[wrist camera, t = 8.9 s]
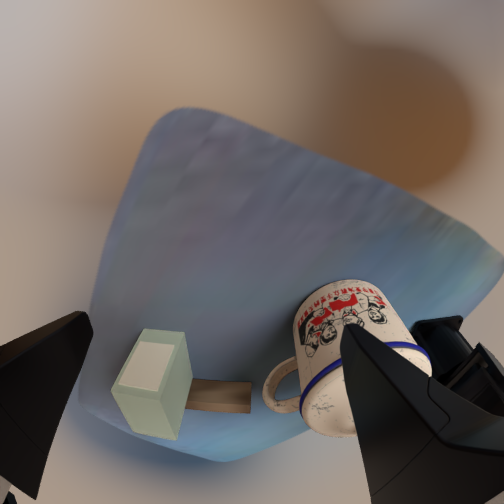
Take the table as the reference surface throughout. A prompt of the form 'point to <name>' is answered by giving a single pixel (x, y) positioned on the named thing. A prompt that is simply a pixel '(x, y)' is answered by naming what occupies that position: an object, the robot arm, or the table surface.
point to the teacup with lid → (336, 352)
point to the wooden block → (219, 396)
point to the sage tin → (155, 383)
